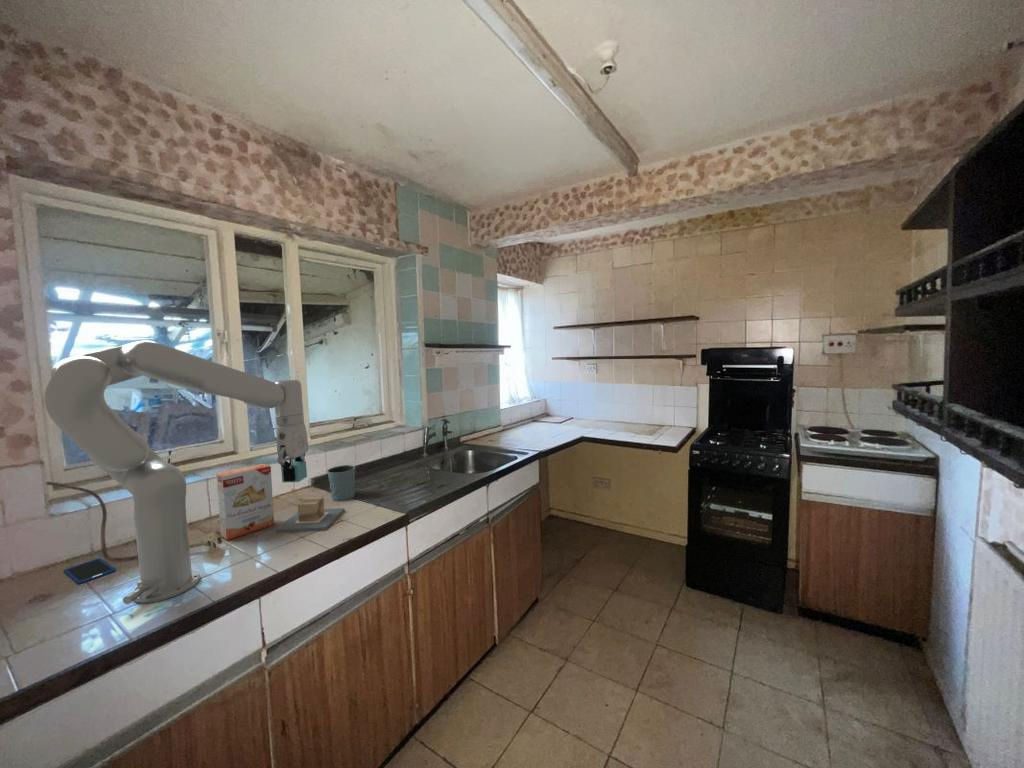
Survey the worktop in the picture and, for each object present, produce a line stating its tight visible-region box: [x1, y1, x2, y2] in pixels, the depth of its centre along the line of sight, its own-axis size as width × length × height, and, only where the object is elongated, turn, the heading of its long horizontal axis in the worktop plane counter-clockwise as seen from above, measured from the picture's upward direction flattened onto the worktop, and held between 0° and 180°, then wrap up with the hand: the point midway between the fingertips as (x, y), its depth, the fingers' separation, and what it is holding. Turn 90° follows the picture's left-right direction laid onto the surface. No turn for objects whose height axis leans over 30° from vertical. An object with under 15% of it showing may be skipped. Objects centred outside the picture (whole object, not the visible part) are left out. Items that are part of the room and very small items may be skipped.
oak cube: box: [297, 496, 325, 522], centre depth 136 cm, size 6×6×6 cm
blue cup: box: [327, 464, 356, 502], centre depth 158 cm, size 10×10×12 cm
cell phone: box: [63, 557, 117, 585], centre depth 107 cm, size 7×14×1 cm, turn 60°
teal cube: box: [280, 460, 308, 484], centre depth 122 cm, size 5×5×5 cm
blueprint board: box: [275, 507, 345, 533], centre depth 137 cm, size 16×16×1 cm
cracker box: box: [216, 463, 275, 541], centre depth 129 cm, size 14×6×21 cm, turn 144°
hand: (294, 477), depth 122 cm, fingers closed on teal cube, 4 cm apart
